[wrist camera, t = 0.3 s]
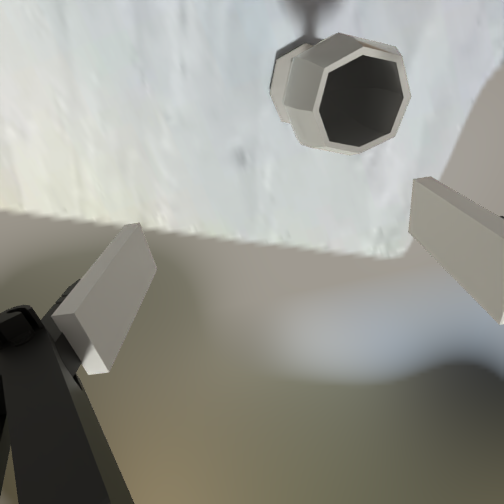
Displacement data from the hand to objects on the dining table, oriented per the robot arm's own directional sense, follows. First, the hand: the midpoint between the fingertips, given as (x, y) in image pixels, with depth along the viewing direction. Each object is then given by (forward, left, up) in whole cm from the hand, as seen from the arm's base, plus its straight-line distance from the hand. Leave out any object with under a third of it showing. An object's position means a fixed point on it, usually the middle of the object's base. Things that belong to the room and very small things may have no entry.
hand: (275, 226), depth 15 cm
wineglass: (-3, +7, -28) cm, 29 cm away
